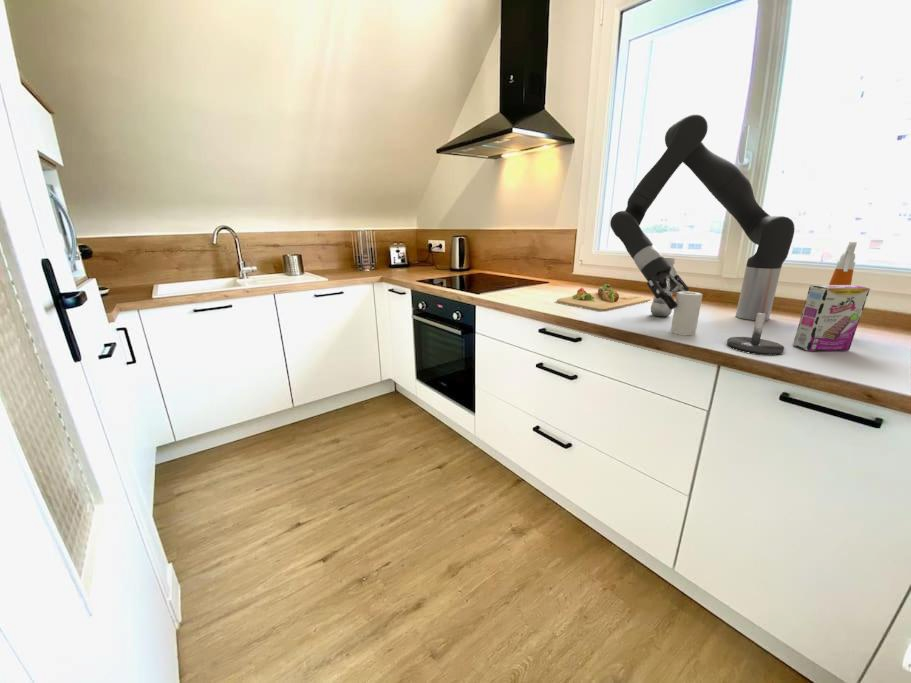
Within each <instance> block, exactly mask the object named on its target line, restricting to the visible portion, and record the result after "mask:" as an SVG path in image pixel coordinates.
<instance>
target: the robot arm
mask: <svg viewBox="0 0 911 683" xmlns="http://www.w3.org/2000/svg"><path fill="white" fill-rule="evenodd" d="M708 125H709V124H708V121H707V120H706V118H705V117H704V116H703V115H700V114H691V115H687V116H685V117H683V118H682V119H680V120H679V121H677V122H676V123H674V124H672V125H671V126H670V127H669V128H668V129H667V130H666V132H665V136H664V142H665V146H666V150H665V151H664V153H663V154H662V155H661V157H660V158H659V159H658V160H657V161H656V163H655V164H654V165H653V166H652V167H651V168H650V169H649V170H648V172H646V174H645V175H644V176H643V177H642V179H641V180H640V181H639V183H638V184H637V186H636V187H635V189H634V190H633V192H632V193H631V194H630V196H629V197H628V199H627V206H626V208H625V210H621V211H618V212H617V211H616V213H614V214H613V216H611V219H610V228H611V230H612V232H613V233H614V235H615V236H616V238H618V239H619V240H620V241H621V242H622V244H623V245H624V247H625V250H626V252H628V255H629V256H630V257H631V259H633V261H634V264H635V265H636V267H637V268H638V270H639V272H641V274H642V275H643V277H644V279H645V280H646V281H647V282H646V285H647V287H648V288H649V289H650V291H651V292H652V294H653V295H654V296H655V297H656V298H657V299H658V298H660V299H662V300H664V301H665V303H666V304H667V306H668V307H669V308H670V309H672V310H674V308H675V307H677V303H676V302H675V301H676V300H675V299H674V298H673V295H672V296H671V295H670V293H669V291H670V292H671V293H672V294H675V295H677V292H680V291H690V288H689V286H688V285H687V284H686V283H685V281H684V280H683V279H682V278H681V277H680V275H679V274H677V275H676V276H674V277H673V276H672V275H671V274H670V271H671V266H670V265H669V263H668V262H667V261H666V259H665V258H666V257H664V255H663V254H662V253H661V251H660V250H659V249H658V248H657V247H656V246H655V245H654V244H653V242H652V241H651V239H649V237H648V236H647V235H646V234H645V233H644V231H643V229H642V228H641V227H640V226H641V223H642V221H643V219H644V218H645V216H646V213H647V211H648V210H649V208H650V207H651V205H652V204H653V203H654V202H655V200H656V198H657V197H658V196H659V194H660V193H661V191H662V190H663V188H664V187H665V185H666V184H667V183H668V181H669V180H670V179H671V177H672V176H673V175H674V173H675V172H676V171H677V170H678V168H679V167H680V166H681V165H682V163H683V164H685V166H686V167H687V168H689V170H690V171H691V172H692V173H693V174H694V175H695V177H696V178H697V179H699V181H700V182H701V183H702V184H703V186H705V188H706V189H707V190H708V192H710V193H711V195H712V196H713V198H715V199H716V200H717V201H718V202H719V203H720V204H721V205H722V207H724V208H725V210H726V211H727V212H728V213H729V214H730V215H731V216H732V217H733V218H734V219H735V221H737V223H738V224H739V226H740V227H741V229H742V230H743V232H744V233H745V235H746V236H747V238H748V239H749V240H750V241H751V242H752V243H753V244H755V245H758V246H757V250H756V252H755V253H754V254H753V255H752V256H750V257H748V258H747V261H746V265H745V269H744V270H745V271H744V276H743V280H742V284H741V290H740V294H739V299H738V303H737V307H736V312H735V317H737V318H740V319H744V320H749V321H756V317H757V313H765V314H766V317H765V321H768V320H770V316H771V313H772V308H773V305H774V299H775V296H776V292H777V287H778V283H779V280H780V274H781V270H782V267H783V264H784V262H785V261H786V260H787V258H788V256H789V252H790V250H791V249H790V248H791V246H792V242H793V239H794V235H795V223H794V222H793V220H792V219H791V218H790V217H787V216H783V215H781V216H779V215H778V216H777V215H773V216H771V215H770V214H769V213H767V211H765V210H764V209H763V208H762V207H761V206H760V204H759V203H758V202H757V200H756V198H755V196H754V195H755V194H754V189H753V187H752V184H751V181H750V179H749V178H748V177H747V176H746V175H745V174H744V172H742V170H740V168H739V167H738V166H737V165H736V164H734V163H733V162H731V161H730V160H728V159H726V158H723V157H721V156H720V155H717V154H716V153H714V152H712V151H711V150H710V149H708V148H707V147H706V145H705V144H704V143H703V142H702V141H704V139H705V137H706V136H707V134H708V128H709V126H708ZM656 290H657V291H658V293H657V292H656Z"/></svg>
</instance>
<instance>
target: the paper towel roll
mask: <svg viewBox="0 0 911 683" xmlns="http://www.w3.org/2000/svg"><path fill="white" fill-rule="evenodd" d="M675 295H676V296H675V300H674V301H675V302H676V303H677V307H675V308H674V309H673V315H672V321H671V327H670V332H671V333H672V334H675V335H678V334H679V335H680V336H686V335H692V336H695V335H696V333H697V332H696V331H697V326H698V323H699V322H698V321H699V316H700V310H701V306H702V300H703V293H701V292H696V291H690V290H688V291H680V292H679V291H678V292H677V294H675ZM694 334H695V335H694ZM679 335H678V336H679Z"/></svg>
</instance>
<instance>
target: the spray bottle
mask: <svg viewBox="0 0 911 683" xmlns="http://www.w3.org/2000/svg"><path fill="white" fill-rule="evenodd" d="M856 247H857V241H855V242H854V241H853V242H852V241H850V242H849V243H848V244H847V247H846V248H845V251H844V252H843V253H842V254H841V255H840V257H839V261H837V264H836V266H835V269H834V271H833V274H832V277H831V278H830V281H829V283H828V285H852V282H853V274H854V268H855V265H856V261H855V259H856V254H855V251H856Z"/></svg>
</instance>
